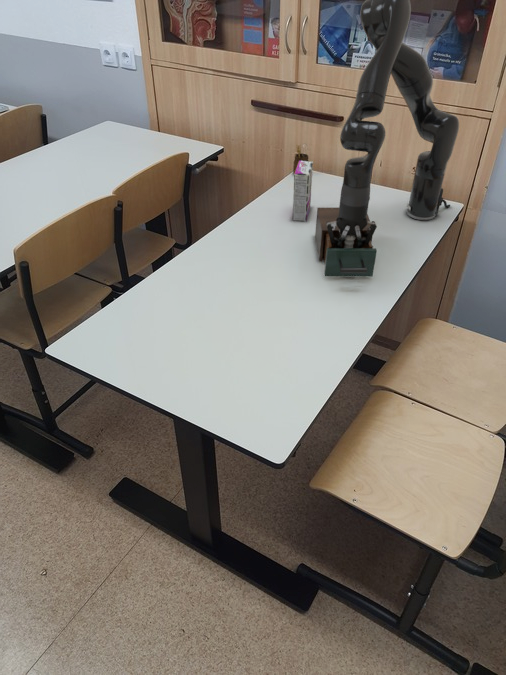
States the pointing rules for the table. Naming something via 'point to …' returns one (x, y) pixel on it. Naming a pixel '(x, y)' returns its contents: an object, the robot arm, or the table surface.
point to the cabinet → (321, 227)
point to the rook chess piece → (349, 241)
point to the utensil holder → (299, 157)
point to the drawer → (348, 258)
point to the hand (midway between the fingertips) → (347, 255)
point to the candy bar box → (302, 190)
